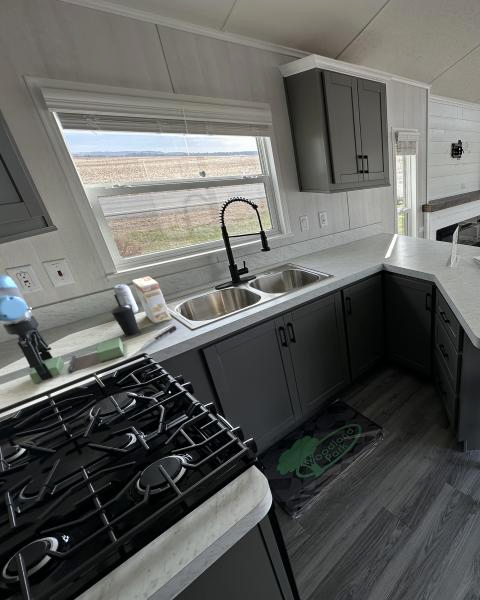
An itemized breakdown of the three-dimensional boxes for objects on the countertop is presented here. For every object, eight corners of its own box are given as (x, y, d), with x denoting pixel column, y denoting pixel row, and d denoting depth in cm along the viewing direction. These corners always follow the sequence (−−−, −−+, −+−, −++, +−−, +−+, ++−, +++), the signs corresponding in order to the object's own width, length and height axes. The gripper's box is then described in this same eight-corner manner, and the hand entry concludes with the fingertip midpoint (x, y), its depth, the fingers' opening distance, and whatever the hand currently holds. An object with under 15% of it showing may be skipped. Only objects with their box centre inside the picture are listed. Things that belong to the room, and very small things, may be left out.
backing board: (71, 375, 121) (68, 370, 120) (75, 361, 130) (72, 356, 129) (125, 358, 130) (122, 353, 129) (125, 346, 138) (122, 341, 137)
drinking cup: (121, 335, 147) (102, 295, 138) (142, 329, 151) (125, 289, 143) (123, 341, 142) (104, 300, 133) (144, 335, 146) (127, 294, 138)
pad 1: (34, 383, 116) (29, 374, 115) (39, 371, 123) (34, 363, 121) (61, 375, 120) (56, 366, 119) (64, 364, 127) (59, 355, 125)
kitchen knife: (175, 329, 150) (173, 325, 149) (176, 329, 150) (175, 325, 149) (140, 351, 134) (138, 347, 133) (142, 351, 134) (140, 347, 133)
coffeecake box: (172, 319, 159) (158, 282, 151) (155, 325, 154) (140, 287, 146) (162, 310, 168) (148, 275, 160) (146, 316, 163) (131, 280, 155)
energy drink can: (141, 309, 170) (130, 283, 164) (134, 315, 165) (122, 287, 158) (130, 310, 170) (118, 283, 164) (121, 315, 165) (109, 288, 158)
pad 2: (100, 361, 126) (96, 353, 125) (102, 351, 133) (97, 343, 131) (123, 354, 130) (119, 346, 128) (123, 345, 137) (119, 337, 135)
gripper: (26, 328, 106) (59, 383, 116) (39, 306, 122) (67, 356, 131) (-7, 336, 102) (30, 392, 112) (10, 312, 118) (41, 363, 127)
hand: (50, 373), depth 121 cm, fingers closed on pad 1, 9 cm apart
